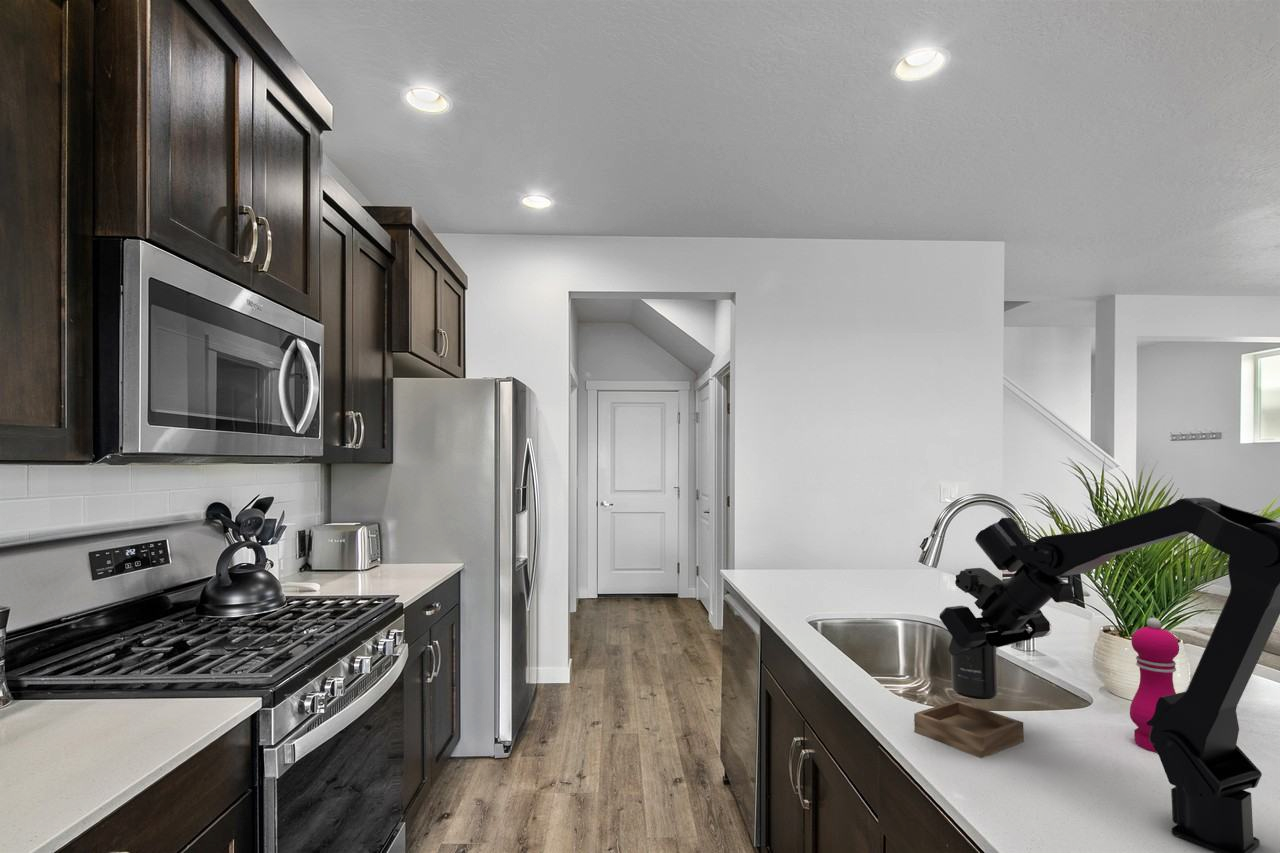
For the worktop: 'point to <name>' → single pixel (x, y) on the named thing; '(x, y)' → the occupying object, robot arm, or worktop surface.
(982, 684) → the supplement bottle
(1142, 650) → the pepper mill
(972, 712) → the tray
